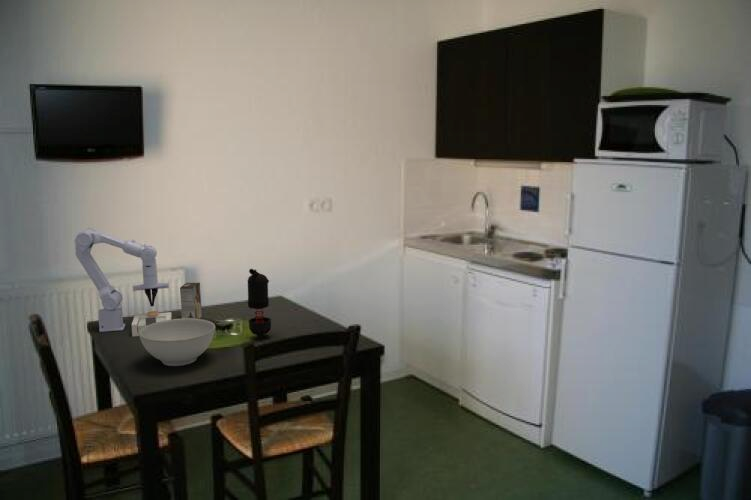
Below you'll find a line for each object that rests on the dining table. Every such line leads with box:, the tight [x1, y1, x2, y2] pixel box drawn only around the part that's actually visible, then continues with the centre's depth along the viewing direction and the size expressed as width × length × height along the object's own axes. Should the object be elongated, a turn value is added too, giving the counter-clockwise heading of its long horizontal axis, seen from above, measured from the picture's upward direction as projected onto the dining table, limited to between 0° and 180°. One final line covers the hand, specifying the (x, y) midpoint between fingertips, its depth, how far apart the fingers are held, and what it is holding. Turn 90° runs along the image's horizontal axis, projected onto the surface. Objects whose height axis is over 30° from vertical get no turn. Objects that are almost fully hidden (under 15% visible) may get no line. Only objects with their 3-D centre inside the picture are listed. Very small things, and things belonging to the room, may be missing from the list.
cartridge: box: [138, 317, 165, 333], centre depth 263 cm, size 10×10×6 cm
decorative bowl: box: [138, 317, 216, 367], centre depth 230 cm, size 27×27×12 cm
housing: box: [131, 311, 172, 337], centre depth 266 cm, size 15×15×5 cm
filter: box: [247, 268, 272, 339], centre depth 255 cm, size 14×9×30 cm
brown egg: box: [146, 310, 159, 316], centre depth 271 cm, size 4×4×4 cm
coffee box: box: [179, 282, 203, 319], centre depth 280 cm, size 9×6×16 cm
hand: (152, 305), depth 269 cm, fingers closed
